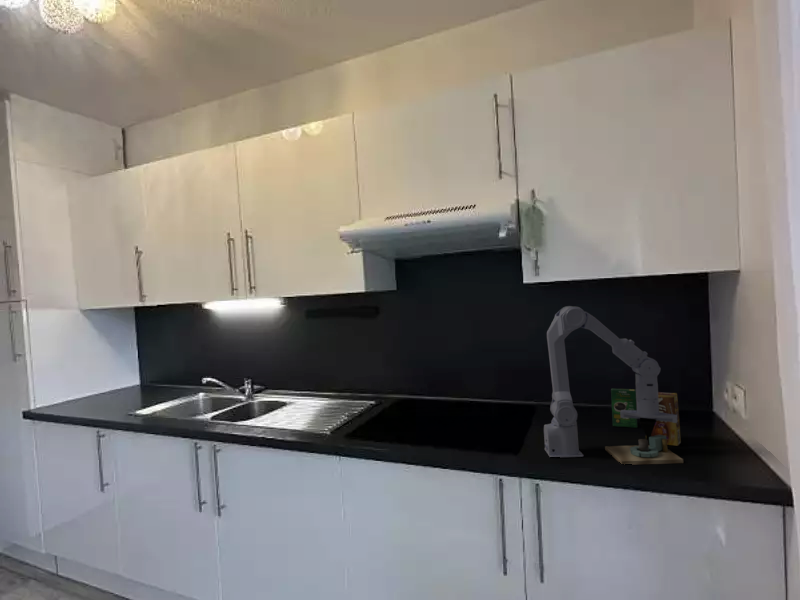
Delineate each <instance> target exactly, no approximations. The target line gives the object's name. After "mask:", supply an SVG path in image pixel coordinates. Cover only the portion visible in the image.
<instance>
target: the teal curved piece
mask: <svg viewBox="0 0 800 600" xmlns="http://www.w3.org/2000/svg"><path fill="white" fill-rule="evenodd" d="M662 439H666V436H664V435H656V436H651V437H649V446H650V447H649V452H641V451H639V446H634V447H631V448H630V451H631V454H632V455H636V456H641V457H655V456H658V451H661V450H663V448H662Z"/></svg>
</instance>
